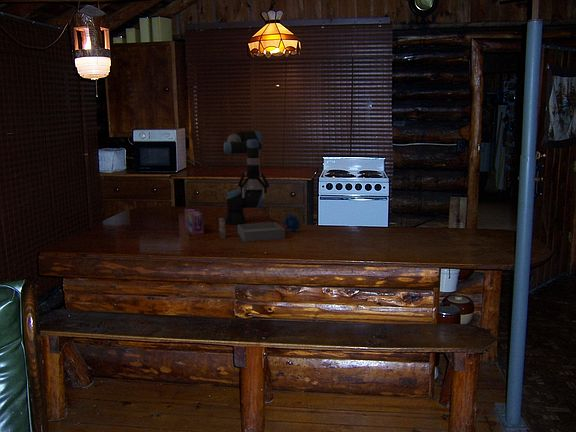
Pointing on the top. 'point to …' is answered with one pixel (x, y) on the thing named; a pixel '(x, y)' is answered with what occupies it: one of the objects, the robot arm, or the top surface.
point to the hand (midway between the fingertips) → (253, 198)
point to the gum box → (194, 221)
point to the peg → (222, 228)
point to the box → (261, 231)
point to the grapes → (291, 223)
